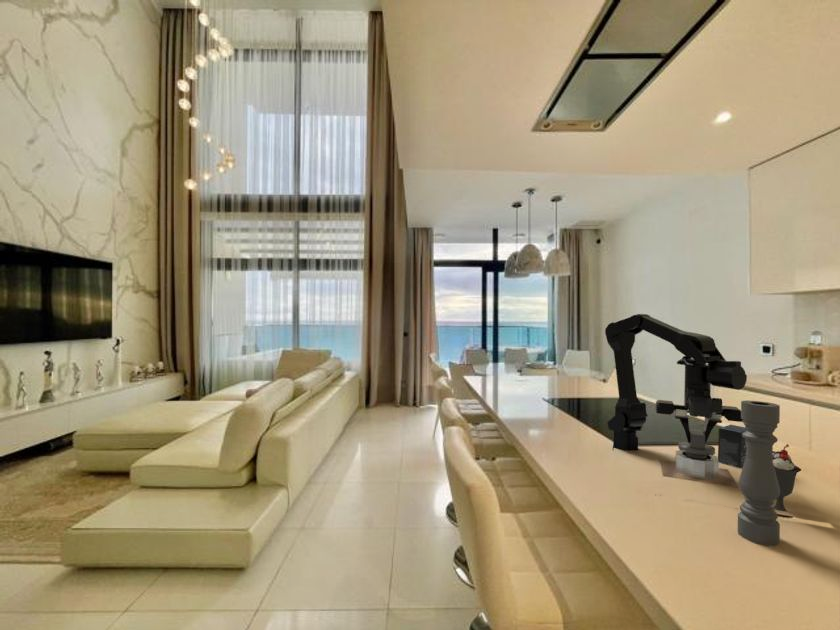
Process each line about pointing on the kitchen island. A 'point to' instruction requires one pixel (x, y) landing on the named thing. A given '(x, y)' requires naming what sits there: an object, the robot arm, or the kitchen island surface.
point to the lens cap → (696, 445)
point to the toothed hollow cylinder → (696, 466)
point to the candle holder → (759, 474)
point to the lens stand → (723, 478)
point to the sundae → (784, 477)
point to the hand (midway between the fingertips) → (696, 443)
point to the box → (732, 446)
